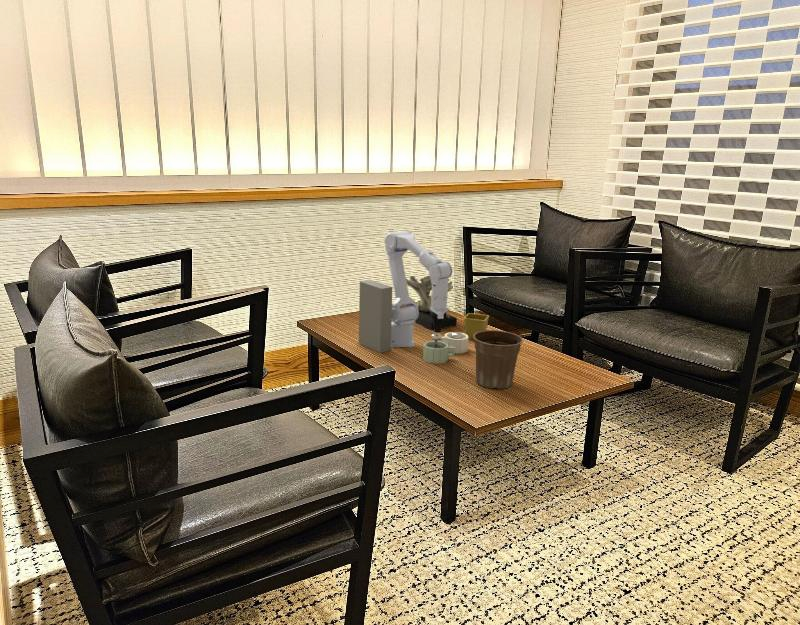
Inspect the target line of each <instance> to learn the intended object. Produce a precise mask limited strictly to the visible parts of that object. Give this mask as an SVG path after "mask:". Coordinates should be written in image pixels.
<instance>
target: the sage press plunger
mask: <svg viewBox="0 0 800 625" xmlns="http://www.w3.org/2000/svg"><path fill="white" fill-rule="evenodd" d="M441 337H442V334H441V333H435V332H434V333H431V341H435V345H431V346H428V347H430V348H444V347H442V346H439V345H437V342H438V340H441ZM441 341H442V340H441Z"/></svg>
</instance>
